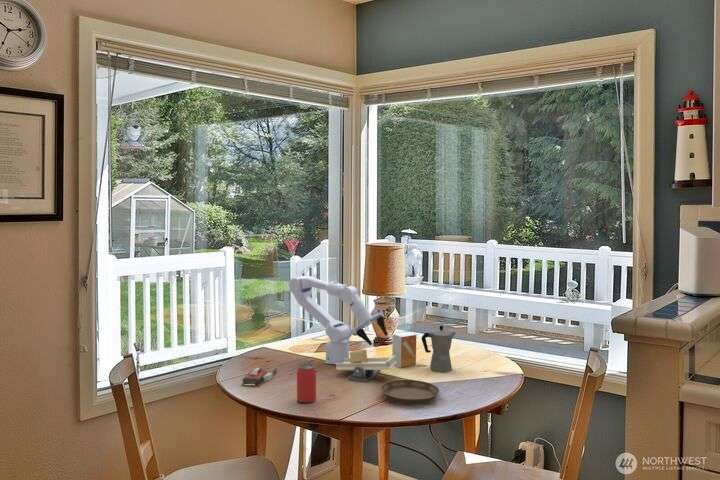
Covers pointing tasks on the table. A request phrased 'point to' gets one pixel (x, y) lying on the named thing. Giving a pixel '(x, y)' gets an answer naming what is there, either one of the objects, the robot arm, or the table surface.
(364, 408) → the table surface
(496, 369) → the table surface
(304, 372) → the beer can
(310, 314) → the robot arm
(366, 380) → the pivot stand
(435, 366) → the coffeepot
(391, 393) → the plant saucer
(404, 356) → the small box
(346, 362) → the beam
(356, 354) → the brass block
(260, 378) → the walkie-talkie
